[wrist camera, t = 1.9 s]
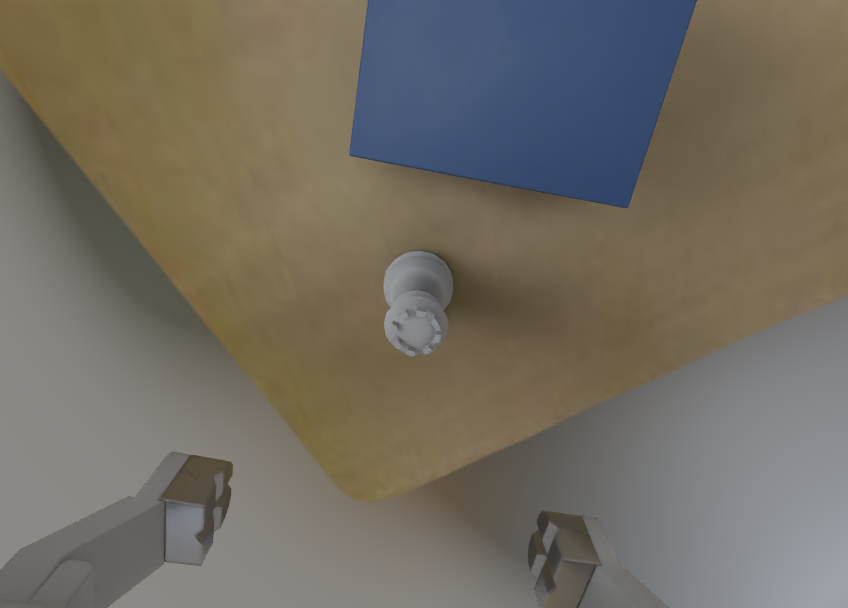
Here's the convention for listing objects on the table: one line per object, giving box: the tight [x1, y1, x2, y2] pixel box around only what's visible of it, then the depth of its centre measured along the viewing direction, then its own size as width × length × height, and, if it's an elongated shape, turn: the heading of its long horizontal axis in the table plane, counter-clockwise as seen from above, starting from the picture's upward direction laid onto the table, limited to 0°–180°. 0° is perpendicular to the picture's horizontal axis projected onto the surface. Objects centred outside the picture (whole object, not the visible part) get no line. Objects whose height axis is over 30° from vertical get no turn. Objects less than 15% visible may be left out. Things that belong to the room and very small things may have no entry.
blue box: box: [349, 0, 697, 208], centre depth 23 cm, size 13×11×8 cm
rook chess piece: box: [383, 251, 454, 357], centre depth 28 cm, size 4×4×8 cm
